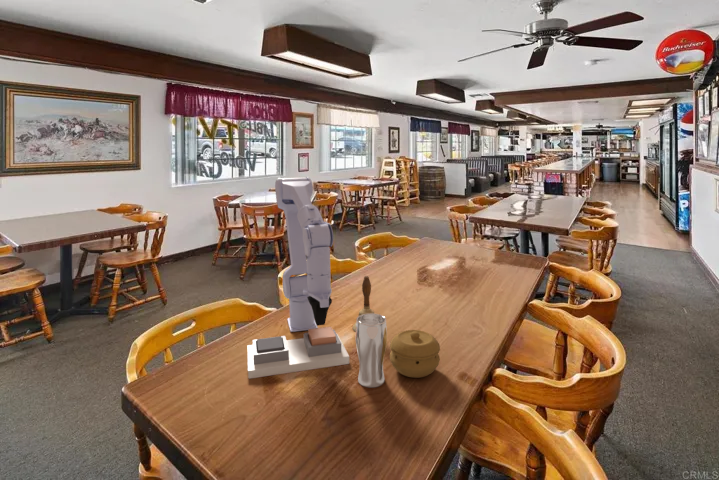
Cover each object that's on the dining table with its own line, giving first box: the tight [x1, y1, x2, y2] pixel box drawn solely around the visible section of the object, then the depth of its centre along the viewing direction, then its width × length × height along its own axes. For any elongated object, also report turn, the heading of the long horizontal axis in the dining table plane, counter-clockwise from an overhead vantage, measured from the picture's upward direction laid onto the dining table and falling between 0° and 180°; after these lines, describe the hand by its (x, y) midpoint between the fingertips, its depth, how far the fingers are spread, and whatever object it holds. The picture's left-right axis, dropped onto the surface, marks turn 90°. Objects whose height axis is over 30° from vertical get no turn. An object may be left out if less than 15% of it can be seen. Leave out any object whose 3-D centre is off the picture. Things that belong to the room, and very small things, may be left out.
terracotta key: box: [307, 326, 336, 346], centre depth 104 cm, size 6×6×3 cm
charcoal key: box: [256, 335, 284, 353], centre depth 101 cm, size 6×6×3 cm
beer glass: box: [355, 312, 388, 389], centre depth 91 cm, size 7×7×15 cm
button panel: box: [246, 329, 350, 380], centre depth 103 cm, size 13×24×4 cm, turn 106°
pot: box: [389, 329, 441, 379], centre depth 96 cm, size 12×12×10 cm
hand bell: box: [352, 275, 375, 333], centre depth 118 cm, size 8×8×16 cm
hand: (320, 324), depth 103 cm, fingers closed
